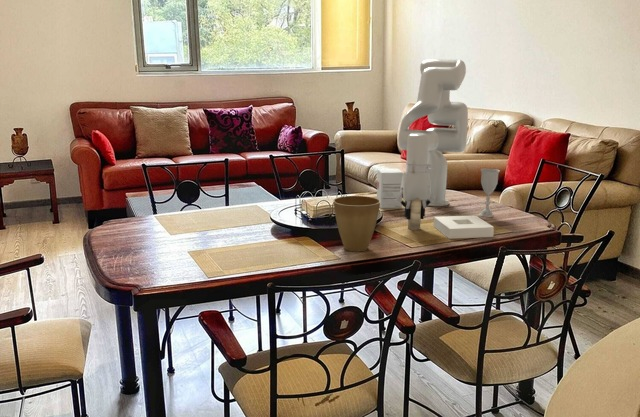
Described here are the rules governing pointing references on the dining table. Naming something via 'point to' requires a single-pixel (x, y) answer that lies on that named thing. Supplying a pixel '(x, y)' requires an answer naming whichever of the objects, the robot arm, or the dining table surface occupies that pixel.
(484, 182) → the chalice
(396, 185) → the supplement box
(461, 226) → the socket
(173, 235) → the dining table surface
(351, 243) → the plant pot
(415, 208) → the peg
